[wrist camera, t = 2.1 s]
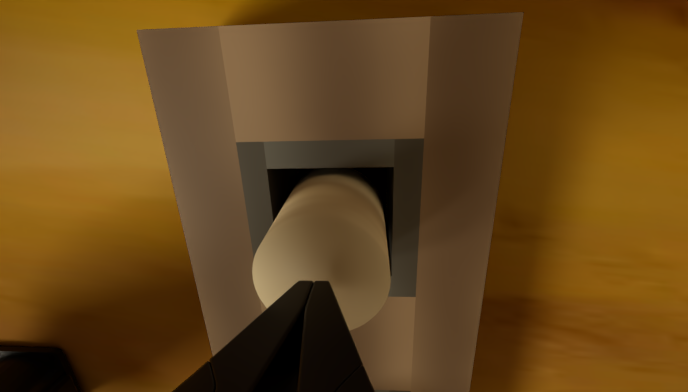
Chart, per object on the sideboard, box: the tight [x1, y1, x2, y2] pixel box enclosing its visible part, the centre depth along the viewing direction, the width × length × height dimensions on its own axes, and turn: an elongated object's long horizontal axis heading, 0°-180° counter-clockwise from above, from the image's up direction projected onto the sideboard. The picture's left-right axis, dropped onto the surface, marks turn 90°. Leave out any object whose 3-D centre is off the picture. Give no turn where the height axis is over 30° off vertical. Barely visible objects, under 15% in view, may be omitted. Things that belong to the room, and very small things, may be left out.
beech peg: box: [252, 168, 391, 331], centre depth 12 cm, size 4×4×5 cm
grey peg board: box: [137, 12, 524, 392], centre depth 17 cm, size 12×26×5 cm, turn 2°
